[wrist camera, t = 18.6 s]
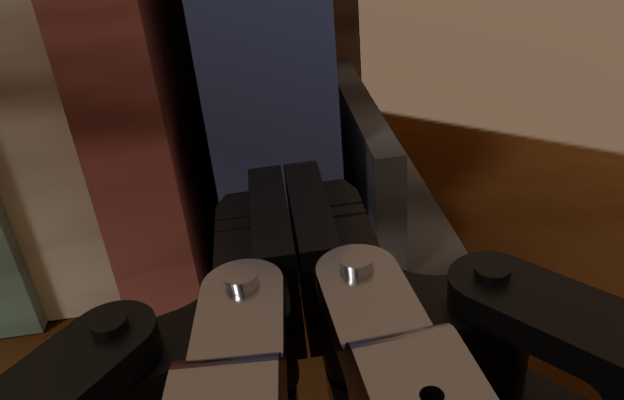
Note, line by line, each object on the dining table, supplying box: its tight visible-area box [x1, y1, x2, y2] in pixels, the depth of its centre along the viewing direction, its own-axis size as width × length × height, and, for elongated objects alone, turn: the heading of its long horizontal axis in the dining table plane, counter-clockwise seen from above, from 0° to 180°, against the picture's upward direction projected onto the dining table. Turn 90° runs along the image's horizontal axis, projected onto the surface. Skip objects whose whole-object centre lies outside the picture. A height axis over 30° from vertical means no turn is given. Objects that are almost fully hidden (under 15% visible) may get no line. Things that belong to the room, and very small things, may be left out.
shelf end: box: [0, 0, 468, 339], centre depth 21 cm, size 12×18×16 cm, turn 97°
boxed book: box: [182, 0, 344, 288], centre depth 22 cm, size 10×4×14 cm, turn 9°
